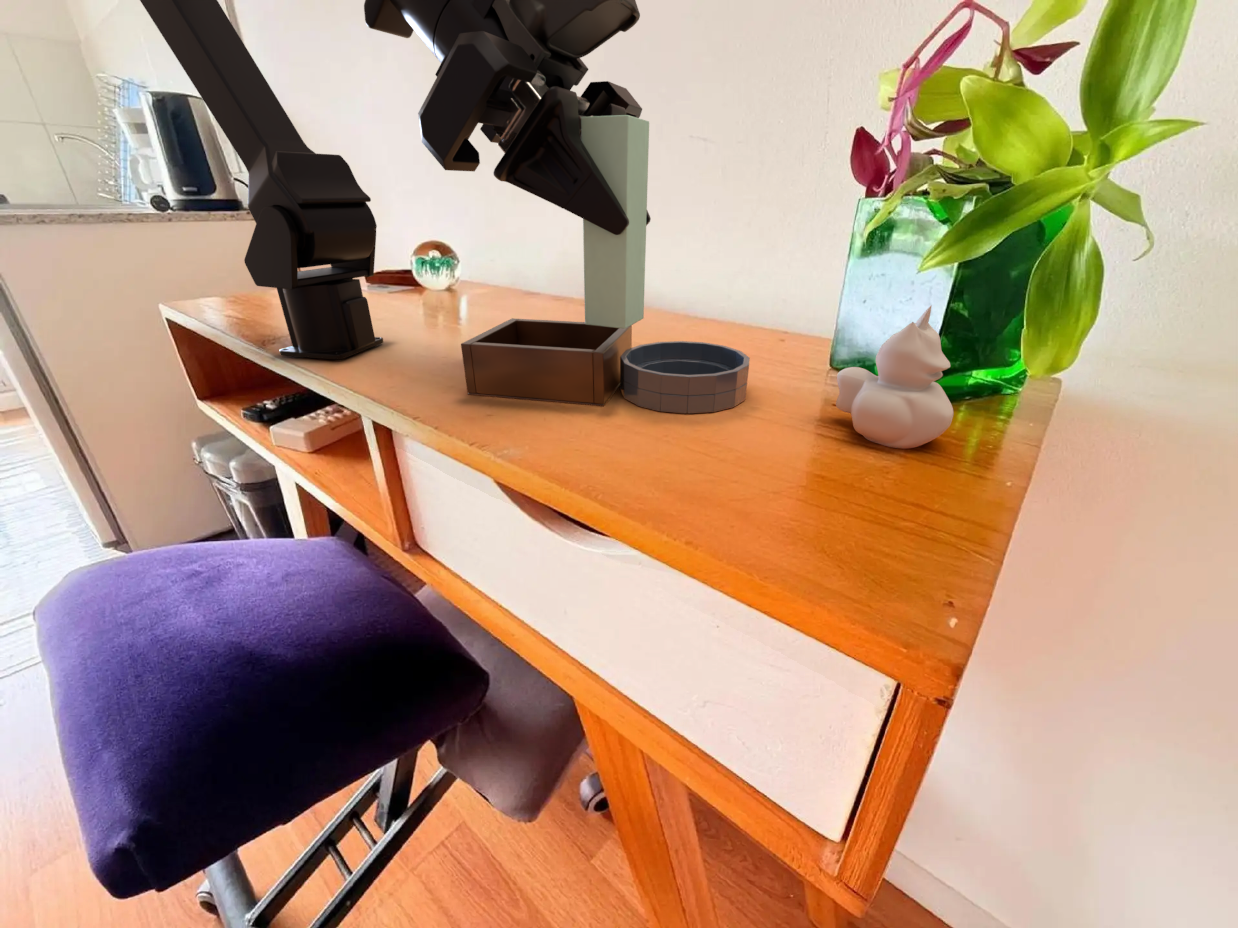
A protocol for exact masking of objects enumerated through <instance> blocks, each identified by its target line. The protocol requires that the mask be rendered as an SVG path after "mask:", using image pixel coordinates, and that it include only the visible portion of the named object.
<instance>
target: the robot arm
mask: <svg viewBox="0 0 1238 928" xmlns="http://www.w3.org/2000/svg"><path fill="white" fill-rule="evenodd" d="M139 1H140V3H141V4H142V6H143V8H144V9H145V10H146V12H147V14H148V15H149V17H150V19H151V20H152V22H153V24H154V25H155V26H156V28H157V30H158V31H159V33H160V35H161V36H162V38H163V39H164V40H165V42H166V44H167V45H168V47H169V49H170V51H171V52H172V53H173V55H174V56H175V58H176V59H177V61H178V63H179V64H180V66H181V68H182V69H183V71H184V72H185V74H186V75H187V77H188V78H189V80H190V82H191V84H192V85H193V86H194V88H195V90H196V91H197V93H198V95H199V96H200V97H201V99H202V101H203V103H204V104H205V105H206V107H207V108H208V110H209V111H210V113H211V114H212V116H213V118H214V119H215V121H216V123H217V124H218V125H219V127H220V129H221V130H222V132H223V134H224V135H225V137H226V138H227V140H228V141H229V143H230V144H231V146H232V148H233V149H234V151H235V153H236V154H237V156H238V157H239V159H240V160H241V162H242V163H243V165H244V167H245V169H246V170H247V173H248V181H247V182H248V183H247V208H248V210H249V213H250V215H251V216H252V218H253V220H254V222H255V227H254V230H253V233H252V235H251V238H250V241H249V245H248V247H247V251H246V253H245V255H244V260H243V262H244V265H245V266H246V269H247V271H248V273H249V274H250V275H249V276H251V279H252V280H253V282H254V284H255V286H256V287H263V288H273V289H276V291H277V295H278V298H279V302H280V305H281V309H282V313H283V317H284V320H285V324H286V327H287V331H288V335H289V338H290V342H291V345H290V346H287V347H284V348H280V349H279V355H280V356H282V357H283V356H285V357H295V358H311V359H321V360H344V359H346V358H348V357H351V356H353V355H356V354H359V353H361V352H363V351H366V350H368V349H372V348H374V347H376V346H379V345H381V344H383V343H384V337H382V336H375V332H374V327H373V322H372V316H371V310H370V308H369V301H368V299H367V297H366V296H364V295H363V290H362V285H361V280H360V279H359V278H363V277H365V278H370V277H374V275H375V262H376V261H375V259H376V246H377V245H376V244H377V227H378V225H377V222H376V219H375V216H374V214H373V212H372V209H371V208H370V206H369V205H368V203H370V202H371V201H372V199H371V197H370V196H369V195H368V194H367V193H366V192H365V191H364V190H363V188H362V187H361V186H360V185H359V183H358V182H357V179H356V178H355V175H354V173H353V171H352V169H351V167H350V165H349V163H348V162H347V161H346V160H345V159H344V157H343V156H342V155H340V154H330V153H316V152H315V151H314V150H312V149H311V148H310V147H309V146H307V144H306V143H305V142H304V139H303V138H302V137H301V135H300V133H299V132H298V130H297V128H296V127H295V125H294V123H293V122H292V121H291V119H290V117H289V115H288V113H287V112H286V110H285V109H284V107H283V106H282V103H281V102H280V101H279V99H278V98H277V96H276V94H275V93H274V91H273V89H272V88H271V86H270V84H269V83H268V81H267V79H266V77H265V76H264V74H263V73H262V71H261V69H260V68H259V66H258V64H257V63H256V62H255V60H254V58H253V56H252V55H251V52H250V51H249V50H248V49H247V47H246V45H245V43H244V41H243V40H242V39H241V37H240V35H239V33H238V32H237V30H236V29H235V27H234V25H233V23H232V22H231V21H230V19H229V17H228V16H227V13H226V12H225V10H224V9H223V7H222V6H221V3H219V1H218V0H139ZM363 12H364V21H365V24H366V26H367V27H368V28H369V29H371V30H375V31H378V32H382V33H385V34H390V35H393V36H396V37H400V38H405V39H410V38H411V37H412V35H413V33H414V32H415V34H416V35H417V36H418V37H419V38H420V40H421V41H422V43H423V44H424V45H425V46H426V47H427V48H428V49H429V51H430V52H431V53H432V54H433V56H434V57H435V58H436V59H437V61H438V62H439V63H440V65H439V66H438V68H437V70H436V72H435V76H436V78H435V80H434V82H433V84H432V86H431V88H430V89H429V91H428V94H427V95H426V97H425V99H424V101H423V104H422V105H421V107H420V109H419V110H418V112H417V115H418V123H419V131H420V139H421V143H422V145H424V147H425V148H426V149H427V150H428V152H429V153H430V154H431V155H432V157H434V159H435V160H436V161H437V162H438V164H439V165H440V166H441V167H442V168H443V170H444V171H454V172H475V171H477V168H478V167H479V166H480V164H481V161H480V152H479V151H478V150H477V148H476V147H475V146H474V145H473V144H472V143H471V141H470V140H469V139H470V138H471V136H472V134H473V132H474V131H475V130H476V128H477V126H478V125H479V124H482V125H481V126H480V129H479V130H480V131H481V132H482V133H483V135H484V136H485V137H486V138H487V140H488V141H489V142H490V143H494V144H497V146H498V147H499V148H500V150H501V151H502V152H503V153H504V154H503V155H502V157H501V158H500V160H499V161H498V163H497V165H496V166H495V168H494V170H493V176H494V178H496V179H497V181H499V182H505V183H508V184H509V185H510V184H511V185H513V186H514V187H517V188H519V189H521V190H523V191H525V192H527V193H529V194H531V195H534V196H536V197H539V198H540V199H543V200H544V201H547V202H549V203H550V204H553V205H555V206H557V207H559V208H561V209H563V210H565V211H567V212H569V213H571V214H573V215H575V216H577V217H578V218H581V219H582V220H583V219H585V220H587V221H589V222H591V223H593V224H595V225H597V226H599V227H601V228H603V229H605V230H607V231H609V232H611V233H613V234H615V235H620V234H621V233H622V232H623V231H624V230H625V229H626V228H627V227H628V225H629V219H628V217H627V216H626V214H625V212H624V210H623V209H622V207H621V205H620V203H619V201H618V200H617V198H616V196H615V195H614V193H613V191H612V190H611V188H610V186H609V185H608V183H607V182H606V180H605V178H604V177H603V175H602V173H601V172H600V170H599V169H598V167H597V165H596V164H595V162H594V160H593V159H592V157H591V156H590V154H589V152H588V151H587V149H586V147H585V146H584V144H583V143H582V140H581V117H588V116H614V115H629V116H633V117H636V118H639V119H640V117H641V116H642V115H641V114H642V112H643V107H642V106H641V105H640V104H639V102H638V101H637V100H636V99H635V97H633V95H632V94H631V92H630V91H629V90H628V88H626V87H624V86H621V85H618V84H616V83H613V82H611V81H608V80H605V81H604V80H602V81H590V82H589V84H588V85H587V86H586V88H585V90H583V92H582V94H581V95H580V96H578V94H577V92H576V91H573V90H572V88H573V87H574V86H575V87H577V86H579V84H580V83H581V81H582V80H583V78H584V77H585V75H586V74H587V73H588V72H589V68H588V66H587V65H586V64H585V62H583V60H582V58H583V57H586V56H588V55H589V54H591V53H593V51H595V50H597V48H599V47H601V46H602V45H604V44H605V43H606V42H608V41H609V40H610V39H611V38H613V37H615V36H616V35H617V34H618V33H620V32H623V33H626V32H628V31H629V30H631V29H632V28H633V27H634V26H635V25H636V24H637V23H638V21H639V20H640V17H641V13H640V10H639V7H638V5H637V1H636V0H364V3H363ZM650 222H651V215H650V213H649V211H648V210H647V217H646V227H647V226H648V225H649V224H650ZM328 265H329V266H328ZM320 266H326V267H321V268H315V267H320ZM327 266H328V267H327ZM313 267H314V269H306V270H299V269H305V268H313ZM298 270H299V271H298Z"/></svg>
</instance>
